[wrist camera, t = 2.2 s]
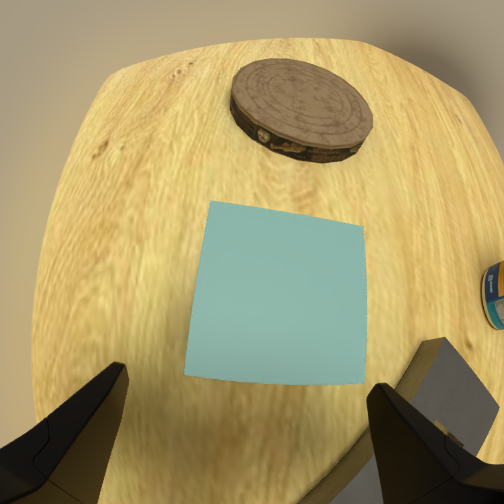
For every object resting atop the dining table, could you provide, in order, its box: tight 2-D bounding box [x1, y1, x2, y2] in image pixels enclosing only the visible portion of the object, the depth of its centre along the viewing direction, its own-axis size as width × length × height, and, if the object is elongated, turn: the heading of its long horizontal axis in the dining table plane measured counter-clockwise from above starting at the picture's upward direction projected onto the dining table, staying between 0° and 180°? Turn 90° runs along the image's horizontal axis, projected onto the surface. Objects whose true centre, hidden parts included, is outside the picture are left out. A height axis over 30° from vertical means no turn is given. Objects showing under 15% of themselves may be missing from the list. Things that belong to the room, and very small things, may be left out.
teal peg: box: [184, 201, 367, 385], centre depth 13 cm, size 4×4×13 cm
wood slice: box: [230, 59, 373, 163], centre depth 27 cm, size 16×16×3 cm
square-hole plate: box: [298, 337, 500, 504], centre depth 14 cm, size 18×14×3 cm
